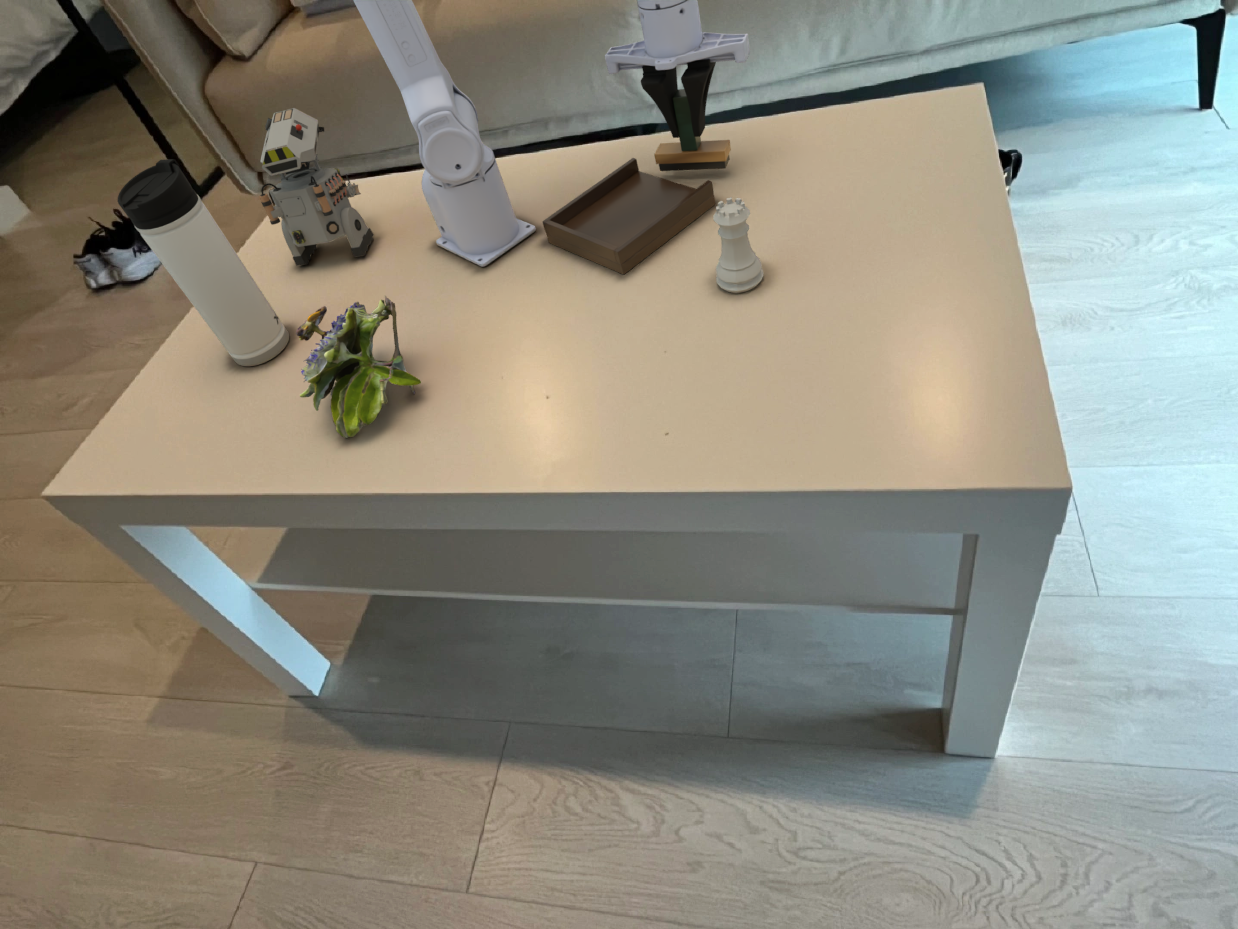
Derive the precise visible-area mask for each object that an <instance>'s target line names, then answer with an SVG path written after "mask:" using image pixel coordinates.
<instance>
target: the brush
mask: <svg viewBox="0 0 1238 929" xmlns="http://www.w3.org/2000/svg"><path fill="white" fill-rule="evenodd" d="M673 104H674V109H675V115H676V121H677V127H678V132H679V138H678V139H679V142H661V143H659V144H658V147H657V149H656V150H655V152H654V154H653V155H654V160H655V164H656V165H658V167H659V172H677V171H678V172H679V171H698V170H699V171H700V170H702V171H704V170H726V169H727V167H728V164H729V162H730V160H731V158H730V153H731V151H732V148H731V140H730V139H720V140H719V139H718V140H702V139H701V138H702V137H701V136H700V137H694V134H693V130H692V123H691V114H690V108H689V104H688V100H687V96H686V93H685V90H684V88H681V89H679V88H678V90H677V91H676V92H675V94H674V96H673Z"/></svg>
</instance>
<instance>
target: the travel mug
mask: <svg viewBox="0 0 1238 929" xmlns="http://www.w3.org/2000/svg"><path fill="white" fill-rule="evenodd" d="M117 204H118V205H119V206H120V208H121V209H122V211H123V212H124V213H125V215H126V216H127V218H129V219H130V221H131V223H132V224H133V226H134V228H135V229H136V231H137V232H139V234H140V236H141V238H142V239H143V240H144V241H145V243H146V244H147V246H148V247H149V248H150V250H151V251H152V252H153V253H154V254H155V256H156V257H157V259H158V261H160V263H161V264H162V265H163V267H164V268H165V270H166V272H168V274H169V275H170V276H171V278H172V279H173V280H174V282H175V283H176V285H177V286H178V287H179V289H180V290H181V291H182V292H183V294H184V296H186V298H187V299H188V301H189V302H190V303H191V304H192V306H193V307H194V309H195V310H196V311H197V313H198V314H199V315H200V317H201V318H202V320H204V322H205V323H206V325H207V326H208V328H209V329H210V330H211V331H212V333H213V334H214V335H215V337H216V338H217V339H218V341H219V342H220V343H221V346H223V348H224V349H225V350H226V351H227V353H228V354H229V355H230V356H229V357H231V359H232V360H233V361H234V362H235V363H236V364H237V365H239V366H241V367H253V366H259V365H262V364H265V363H267V362H268V361H271V360H273V359H274V358H275V357H277V356H278V355H279V354H281V353H282V351H283V350H284V349H285V348H286V347H287V345H288V344H289V341H290V332H289V331H288V329H287V328H286V327H285V324H284V323H283V322H282V320H281V319H280V317H279V316H278V314H277V313H276V311H275V310H274V309H273V307H272V305H271V304H270V302H269V300H268V299H267V298H266V296H265V294H264V293H263V291H262V290H261V288H260V287H259V285H258V283H257V282H256V281H255V279H254V278H253V276H252V274H251V273H250V272H249V270H248V269H247V267H246V265H245V264H244V262H243V261H242V259H241V258H240V256H239V255H238V253H237V252H236V251H235V249H234V247H233V245H231V243H230V241H229V240H228V238H227V237H226V235H225V234H224V232H223V231H222V229H221V228H220V226H219V225H218V223H217V222H216V220H215V218H214V217H213V215H212V214H211V212H210V211H209V209H208V208H207V207H206V205H205V203H204V202H203V201H202V199H201V197H200V196H199V194H198V193H197V192H196V191H195V189H194V188H193V187H192V185H191V183H190V181H189V180H188V179H187V177H186V176H185V174H184V172H183V171H182V169H181V167H180V164H179V162H178V161H177V160H176V158H168V159H167V158H166V159H159V160H158V161H157V162H156V163H155V165H153V166H151V167H148V168H146V169H144V170H142V171H141V172H139V173H137V174H136V175H134V177H132V178H131V179H129V181H128V182H126V183H125V184H124V185H123V187H122V188H121V189H120V191H119V193H118V196H117Z"/></svg>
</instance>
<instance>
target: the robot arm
mask: <svg viewBox="0 0 1238 929" xmlns="http://www.w3.org/2000/svg"><path fill="white" fill-rule="evenodd" d="M352 1H353V3H354V6H356V8H357V10H358V12H359V15H360V16H361V18H362V20H363V22H364V24H365V26H366V28H367V30H368V31H369V33H370V35H371V37H372V39H373V41H374V43H375V45H376V47H377V49H378V51H379V53H380V55H381V57H382V59H383V60H384V62H385V65H386V66H387V68H388V70H389V72H390V75H391V76H392V78H393V80H394V82H395V83H396V86H397V87H398V89H399V91H400V94H401V96H402V99H403V102H404V105H405V108H406V112H407V114H408V117H409V120H410V123H411V125H412V127H413V129H414V131H415V133H416V136H417V139H418V154H419V159H420V163H421V165H422V167H423V168H424V170H423V172H422V176H421V190H422V194H423V197H424V199H425V202H426V204H427V206H428V208H429V211H430V213H431V215H432V218H433V219H434V220H433V221H434V222H435V224H436V227H437V229H438V231H439V234H440V237H438V238H437V239H436V240H435V243H436V245H437V246H439V247H440V248H443V249H445V250H447V251H449V252H451V253H453V254H455V255H457V256H459V257H461V258H462V259H465V260H467V261H469V262H471V263H473V264H476V266H479V267H486V266H488V265H489V264H491V263H492V262H493V261H495V260H496V259H498V258H499V257H501V256H502V255H503V254H505V253H507V252H508V251H509V250H511V249H512V248H513V247H515V246H516V245H518V244H519V243H520V242H522V241H523V240H525V239H527V237H529V236H530V235H533V233H535V232H536V231H537V227H536V226H535V225H533V224H531V223H529V222H527V221H523V220H521V219H519V218H517V216H516V213H515V211H514V207H513V205H512V202H511V199H510V196H509V193H508V191H507V188H506V186H505V182H504V180H503V177H502V174H501V171H500V168H499V166H498V163H497V162H498V161H497V160H496V157H495V153H494V151H493V149H492V148H491V147H489V146H488V145H486V144H484V142H483V140H482V139H481V135H480V130H479V118H478V111H477V107H476V106H475V103H474V102H473V101H472V100H471V98H470V97H469V96H468V95H467V94H465V93H464V92H462V91H461V90H460V89H459V87H458V86H457V84H456V83H455V82H454V80H453V78H452V77H451V75H450V72H449V71H448V69H447V68H446V66H445V65H444V64H443V62H442V61H441V59H440V56H439V55H438V52H437V51H436V48H435V46H434V44H433V42H432V40H431V38H430V36H429V33H428V31H427V29H426V27H425V25H424V22H423V20H422V19H421V17H420V14H419V12H418V11H417V10H418V9H417V8H416V6H415V4H414V1H413V0H352ZM636 4H637V10H638V15H639V21H640V26H641V31H642V36H643V40H639V41H636V42H632V43H627V44H623V45H618V46H617V45H616V46H611V47H609V49H608V50H607V52H606V53H605V54H604V59H605V64H606V68H607V73H608V75H617V74H619V73H620V71H630V70H640V69H641V70H642V77H641V79H640V85H641V88H642V90H643V91H644V92H645V93H646V94H647V95H648V96H649V97H650V98H651V100H652V101H653V102H654V104H655V105H656V107H657V108H658V110H659V111H660V112H661V114H662V116H663V118H664V120H665V122H666V124H667V127H668V128H669V131H670V133H671V137H672V138H673V139H680V138H679V132H678V127H677V121H676V115H675V109H674V104H673V96H674V94H675V92H676V91H677V90H679V87H678V86H679V85H678V71H677V66H685V65H686V66H687V68H685V70H684V72H683V74H682V75H681V77H680V81H681V84H682V88H683V89H684V90H685V93H686V96H687V100H688V104H689V108H690V114H691V123H692V130H693V134H694V137H700V138H701V137H702V135H703V133H704V131H705V129H706V109H707V100H708V95H709V90H710V86H711V82H712V78H713V73H714V71H715V67H716V64H717V63H719V62H730V61H734V62H735V63H736V64H741V63H742V64H743V63H746V62H747V60H748V59H749V57H750V54H751V48H750V40H749V34H748V33H722V32H721V33H719V32H718V33H717V32H705V31H703V29H702V23H701V16H700V7H699V2H698V0H636Z"/></svg>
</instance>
